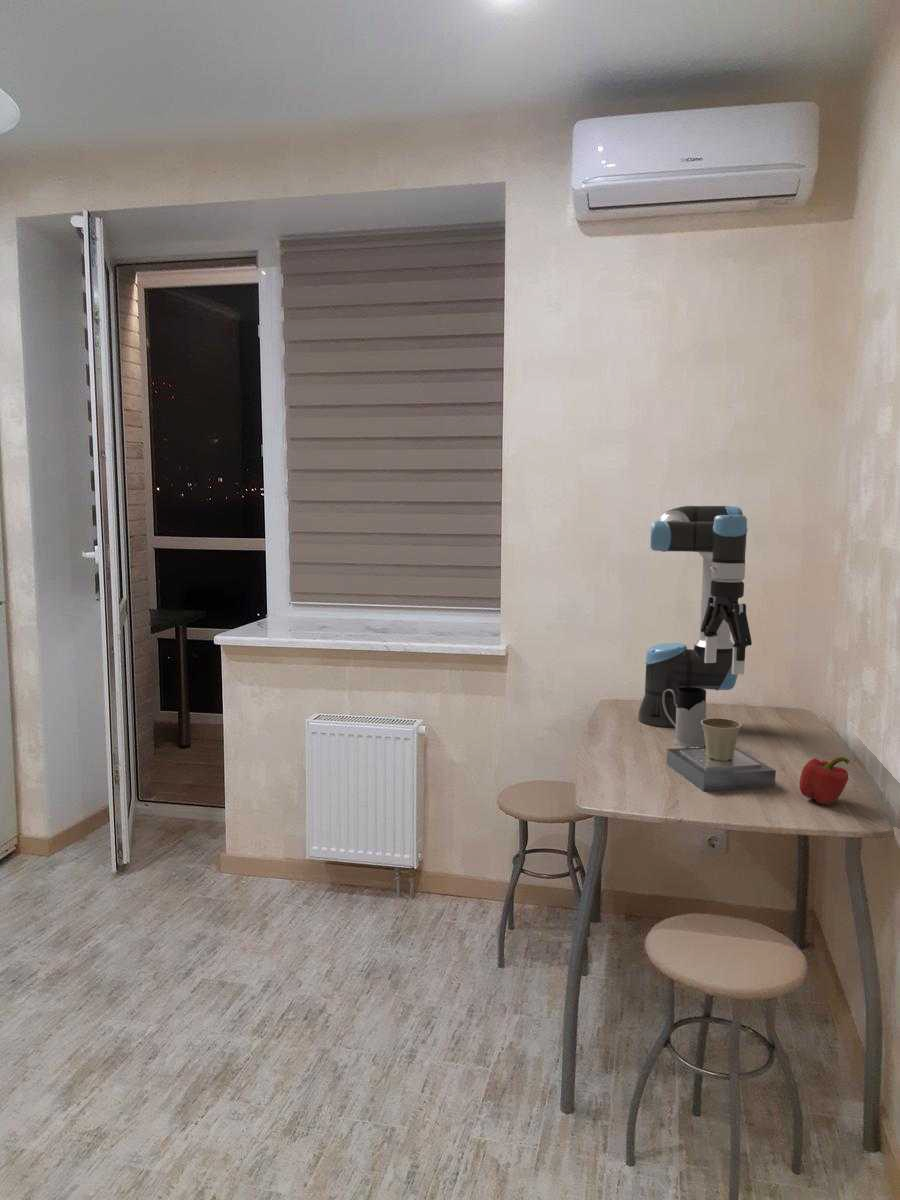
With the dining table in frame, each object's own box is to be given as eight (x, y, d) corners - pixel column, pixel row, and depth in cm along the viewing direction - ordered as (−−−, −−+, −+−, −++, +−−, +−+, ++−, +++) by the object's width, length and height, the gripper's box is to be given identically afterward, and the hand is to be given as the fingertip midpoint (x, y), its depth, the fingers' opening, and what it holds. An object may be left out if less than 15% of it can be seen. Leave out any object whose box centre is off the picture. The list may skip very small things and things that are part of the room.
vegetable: (836, 792, 197) (839, 750, 196) (859, 808, 187) (862, 764, 186) (789, 792, 197) (792, 750, 196) (810, 809, 187) (812, 764, 186)
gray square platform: (666, 764, 217) (667, 747, 217) (732, 760, 220) (733, 743, 220) (703, 791, 198) (704, 772, 197) (774, 786, 201) (775, 768, 200)
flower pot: (713, 764, 203) (714, 729, 202) (691, 753, 212) (693, 719, 211) (747, 761, 205) (749, 726, 204) (725, 750, 214) (726, 716, 213)
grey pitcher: (692, 749, 230) (694, 695, 228) (651, 737, 241) (653, 685, 239) (712, 744, 235) (715, 690, 233) (671, 732, 246) (673, 681, 244)
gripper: (689, 575, 215) (685, 658, 217) (739, 586, 190) (735, 679, 193) (717, 575, 216) (713, 657, 219) (770, 585, 192) (765, 678, 194)
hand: (723, 668), depth 206 cm, fingers open, 13 cm apart
